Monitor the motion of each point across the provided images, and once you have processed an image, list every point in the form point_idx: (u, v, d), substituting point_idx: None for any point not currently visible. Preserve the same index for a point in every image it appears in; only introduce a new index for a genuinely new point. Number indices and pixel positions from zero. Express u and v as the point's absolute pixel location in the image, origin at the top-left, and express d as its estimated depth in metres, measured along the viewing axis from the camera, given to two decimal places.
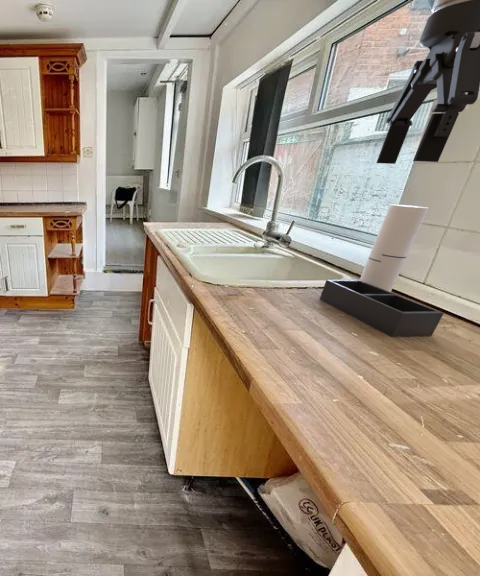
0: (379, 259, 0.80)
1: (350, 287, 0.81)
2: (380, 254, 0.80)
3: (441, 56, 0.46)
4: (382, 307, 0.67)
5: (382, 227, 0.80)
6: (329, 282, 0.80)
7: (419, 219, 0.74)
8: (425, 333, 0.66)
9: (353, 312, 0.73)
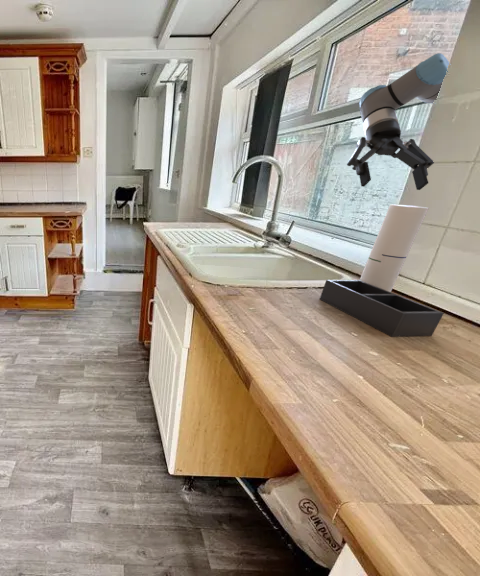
0: (379, 259, 0.80)
1: (350, 287, 0.81)
2: (380, 254, 0.80)
3: None
4: (382, 307, 0.67)
5: (382, 227, 0.80)
6: (329, 282, 0.80)
7: (419, 219, 0.74)
8: (425, 333, 0.66)
9: (353, 312, 0.73)
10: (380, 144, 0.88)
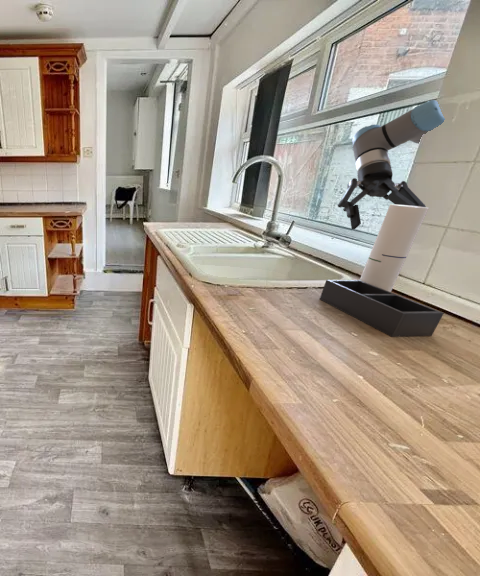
0: (379, 259, 0.80)
1: (350, 287, 0.81)
2: (380, 254, 0.80)
3: None
4: (382, 307, 0.67)
5: (382, 227, 0.80)
6: (329, 282, 0.80)
7: (419, 219, 0.74)
8: (425, 333, 0.66)
9: (353, 312, 0.73)
10: (371, 186, 0.88)
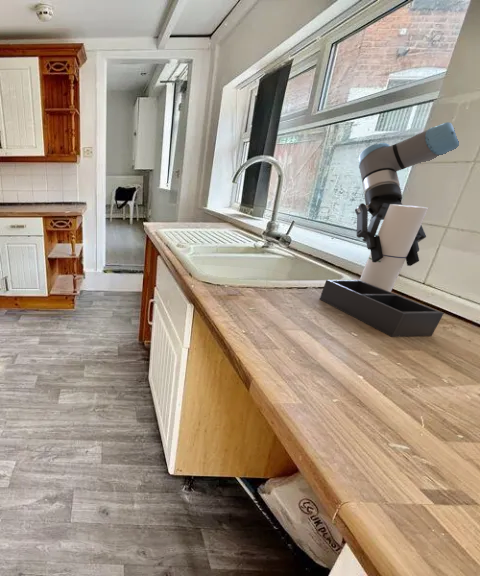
0: None
1: (350, 287, 0.81)
2: None
3: None
4: (382, 307, 0.67)
5: (382, 227, 0.80)
6: (329, 282, 0.80)
7: (418, 219, 0.74)
8: (425, 333, 0.66)
9: (353, 312, 0.73)
10: (380, 209, 0.83)
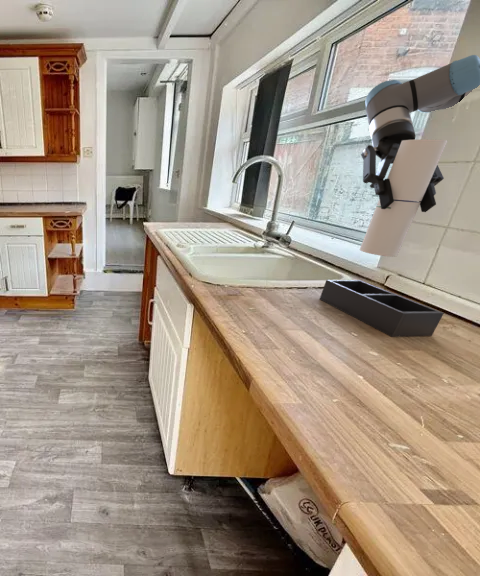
0: (389, 205, 0.70)
1: (350, 287, 0.81)
2: None
3: None
4: (382, 307, 0.67)
5: (392, 168, 0.69)
6: (329, 282, 0.80)
7: (436, 154, 0.64)
8: (425, 333, 0.66)
9: (353, 312, 0.73)
10: (390, 151, 0.72)
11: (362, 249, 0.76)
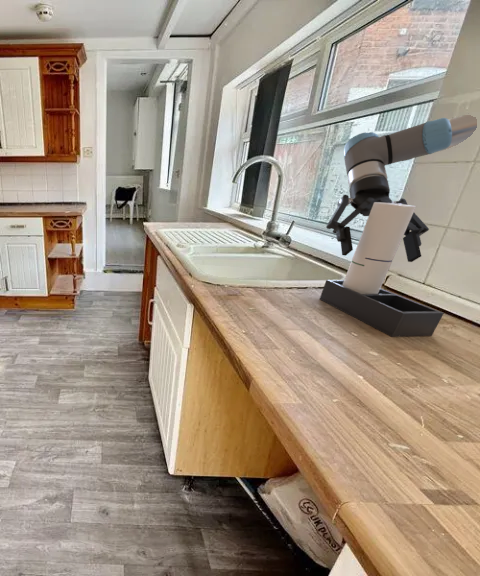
0: (362, 263, 0.73)
1: None
2: (363, 257, 0.72)
3: (358, 207, 0.78)
4: (382, 307, 0.67)
5: (365, 227, 0.72)
6: (329, 282, 0.80)
7: (405, 219, 0.67)
8: (425, 333, 0.66)
9: (353, 312, 0.73)
10: (365, 205, 0.75)
11: None
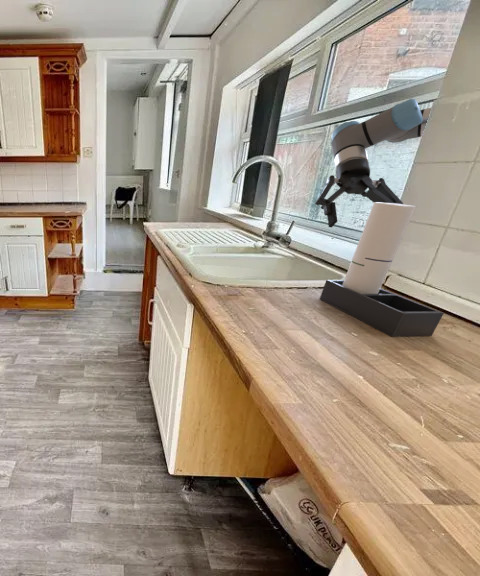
0: (362, 263, 0.73)
1: None
2: (363, 257, 0.72)
3: None
4: (382, 307, 0.67)
5: (365, 227, 0.72)
6: (329, 282, 0.80)
7: (405, 219, 0.67)
8: (425, 333, 0.66)
9: (353, 312, 0.73)
10: (348, 183, 0.86)
11: None
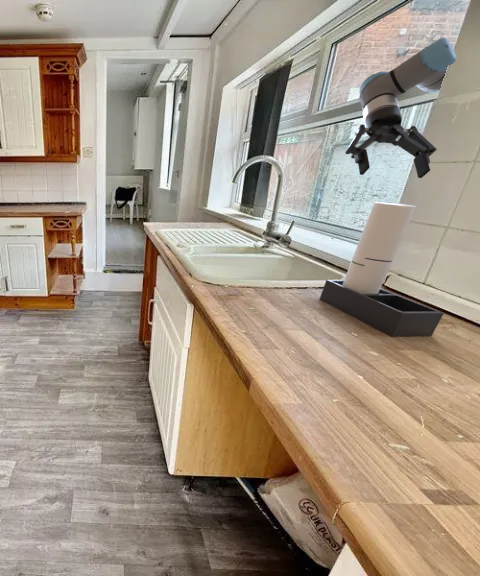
0: (362, 263, 0.73)
1: None
2: (363, 257, 0.72)
3: None
4: (382, 307, 0.67)
5: (365, 227, 0.72)
6: (329, 282, 0.80)
7: (405, 219, 0.67)
8: (425, 333, 0.66)
9: (353, 312, 0.73)
10: (380, 131, 0.85)
11: None
